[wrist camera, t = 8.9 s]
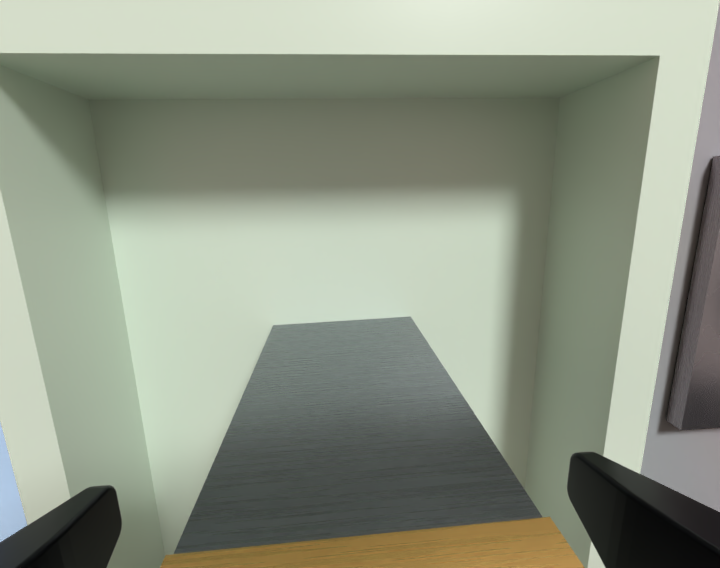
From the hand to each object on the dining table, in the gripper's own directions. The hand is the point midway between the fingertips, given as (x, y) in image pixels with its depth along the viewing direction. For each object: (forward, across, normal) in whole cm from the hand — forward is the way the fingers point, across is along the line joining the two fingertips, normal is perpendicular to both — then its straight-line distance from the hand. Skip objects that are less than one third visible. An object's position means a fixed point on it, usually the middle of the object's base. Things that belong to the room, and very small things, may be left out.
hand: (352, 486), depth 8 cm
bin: (+5, 0, 0) cm, 5 cm away
